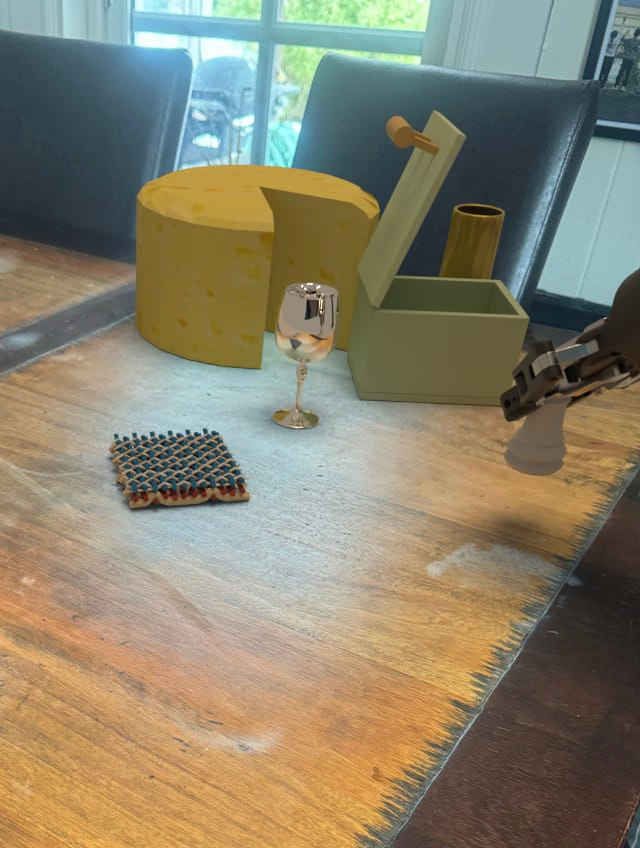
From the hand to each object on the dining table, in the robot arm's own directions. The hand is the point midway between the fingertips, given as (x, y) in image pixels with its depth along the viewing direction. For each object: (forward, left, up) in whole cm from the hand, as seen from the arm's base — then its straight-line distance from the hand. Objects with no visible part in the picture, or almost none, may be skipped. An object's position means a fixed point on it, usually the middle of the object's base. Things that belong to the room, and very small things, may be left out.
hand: (527, 405), depth 71 cm
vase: (-4, -38, -9) cm, 40 cm away
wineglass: (+15, -16, -9) cm, 24 cm away
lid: (+6, -27, +7) cm, 29 cm away
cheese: (+19, -41, -9) cm, 46 cm away
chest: (+1, -27, -9) cm, 29 cm away
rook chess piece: (-1, +2, -4) cm, 5 cm away
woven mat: (+26, -3, -9) cm, 28 cm away
